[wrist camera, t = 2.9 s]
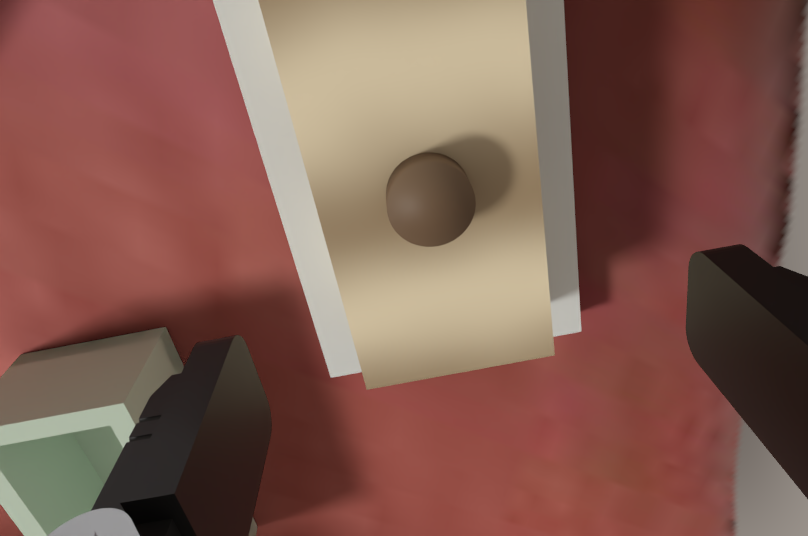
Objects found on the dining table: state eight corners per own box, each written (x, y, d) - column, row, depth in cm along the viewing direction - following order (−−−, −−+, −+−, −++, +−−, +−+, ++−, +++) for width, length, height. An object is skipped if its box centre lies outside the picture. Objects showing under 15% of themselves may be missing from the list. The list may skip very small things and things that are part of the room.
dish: (20, 354, 23) (-51, 435, 19) (165, 326, 23) (123, 403, 19) (139, 547, 29) (102, 641, 25) (257, 526, 29) (239, 618, 25)
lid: (267, -37, 16) (239, -37, 13) (493, -86, 16) (528, -99, 13) (367, 338, 22) (366, 409, 19) (532, 307, 22) (563, 373, 19)
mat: (197, -82, 17) (186, -86, 16) (542, -158, 16) (555, -166, 15) (332, 359, 24) (330, 377, 23) (571, 315, 24) (581, 331, 23)
